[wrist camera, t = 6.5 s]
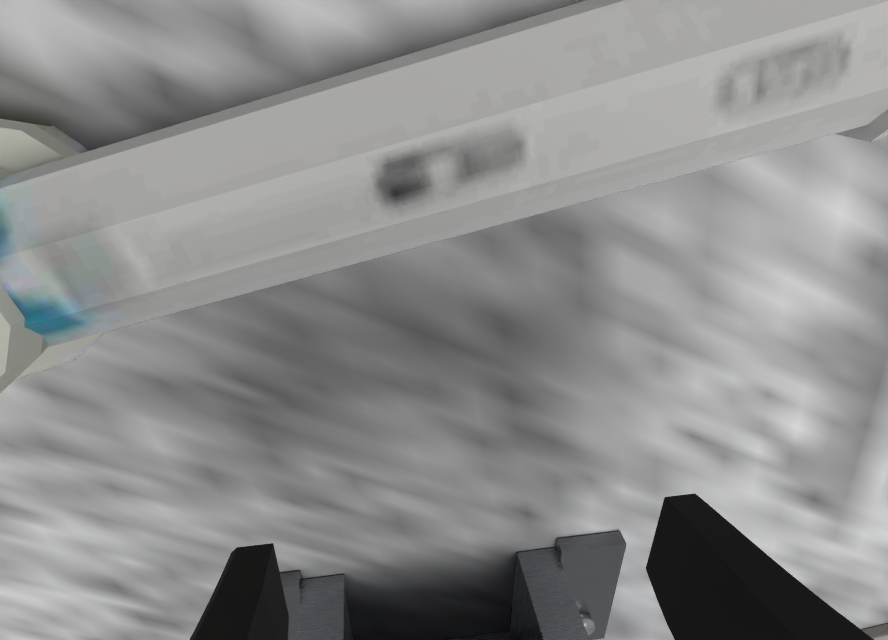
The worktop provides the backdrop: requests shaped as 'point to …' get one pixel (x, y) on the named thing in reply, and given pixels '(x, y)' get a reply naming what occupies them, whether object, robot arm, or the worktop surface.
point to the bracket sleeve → (534, 598)
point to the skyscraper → (878, 632)
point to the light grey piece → (415, 155)
